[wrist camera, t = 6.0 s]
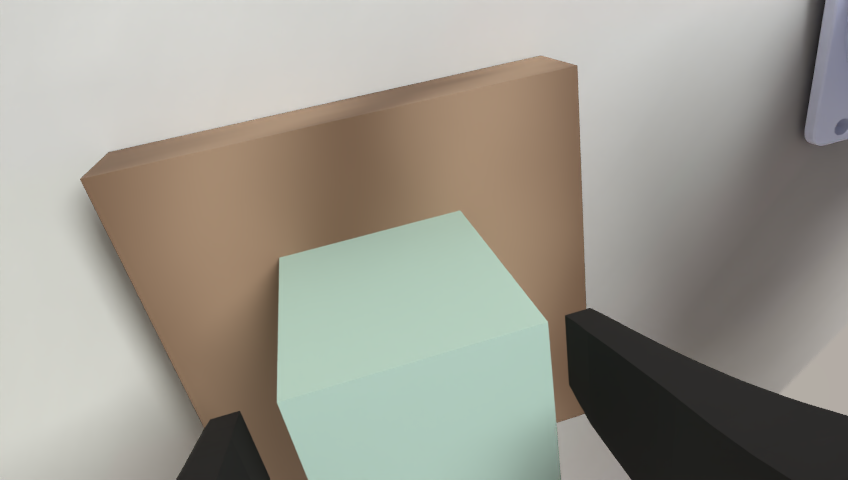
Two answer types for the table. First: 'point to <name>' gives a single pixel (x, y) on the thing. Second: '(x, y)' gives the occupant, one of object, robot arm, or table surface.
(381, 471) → the sage block
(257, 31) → the table surface
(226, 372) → the walnut base
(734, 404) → the robot arm
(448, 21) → the table surface
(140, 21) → the table surface
